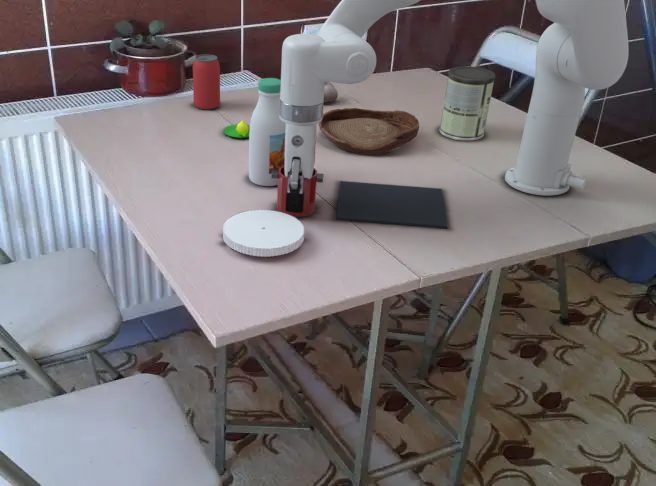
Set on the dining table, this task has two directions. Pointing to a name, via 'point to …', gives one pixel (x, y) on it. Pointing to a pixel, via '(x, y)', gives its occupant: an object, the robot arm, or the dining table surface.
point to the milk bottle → (266, 134)
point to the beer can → (206, 81)
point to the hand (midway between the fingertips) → (296, 201)
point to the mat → (391, 204)
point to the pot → (308, 190)
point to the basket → (369, 129)
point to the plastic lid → (263, 233)
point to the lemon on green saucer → (238, 130)
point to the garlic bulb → (330, 92)
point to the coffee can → (466, 102)
